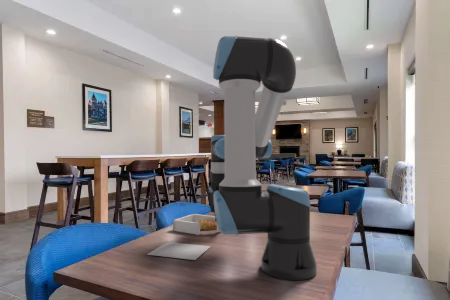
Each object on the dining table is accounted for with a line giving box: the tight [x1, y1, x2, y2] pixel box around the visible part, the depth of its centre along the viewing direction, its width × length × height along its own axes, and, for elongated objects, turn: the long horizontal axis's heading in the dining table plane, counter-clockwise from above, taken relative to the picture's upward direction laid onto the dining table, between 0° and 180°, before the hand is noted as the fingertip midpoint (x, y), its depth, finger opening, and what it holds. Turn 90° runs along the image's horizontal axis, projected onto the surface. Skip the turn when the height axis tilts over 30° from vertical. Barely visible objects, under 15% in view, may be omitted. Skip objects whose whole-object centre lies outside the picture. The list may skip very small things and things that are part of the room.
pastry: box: [198, 220, 217, 231], centre depth 128 cm, size 9×7×4 cm
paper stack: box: [146, 241, 212, 261], centre depth 101 cm, size 23×25×1 cm
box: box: [172, 213, 217, 236], centre depth 127 cm, size 15×13×4 cm
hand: (220, 229), depth 121 cm, fingers closed
